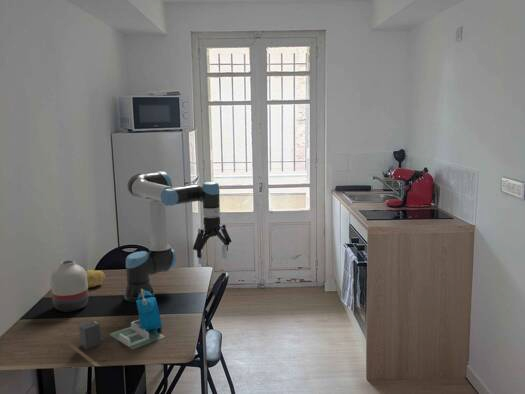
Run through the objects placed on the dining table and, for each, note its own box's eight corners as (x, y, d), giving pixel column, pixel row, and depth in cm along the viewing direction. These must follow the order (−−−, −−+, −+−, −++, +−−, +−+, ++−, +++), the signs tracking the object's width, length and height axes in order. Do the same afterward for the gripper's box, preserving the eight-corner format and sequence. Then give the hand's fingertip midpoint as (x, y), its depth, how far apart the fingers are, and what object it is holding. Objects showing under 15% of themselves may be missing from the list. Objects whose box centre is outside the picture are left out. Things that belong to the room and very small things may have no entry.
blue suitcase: (163, 338, 221) (161, 294, 217) (138, 341, 218) (136, 296, 215) (160, 322, 237) (158, 281, 233) (137, 325, 234) (135, 283, 231)
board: (108, 336, 223) (108, 333, 223) (141, 325, 234) (141, 322, 234) (132, 351, 209) (132, 348, 209) (165, 339, 220) (165, 336, 220)
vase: (65, 300, 267) (61, 256, 262) (95, 301, 263) (92, 257, 259) (46, 312, 250) (41, 266, 246) (77, 315, 247) (74, 267, 243)
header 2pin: (131, 328, 228) (130, 322, 228) (144, 324, 233) (143, 318, 232) (137, 332, 224) (137, 326, 224) (150, 327, 229) (150, 321, 228)
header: (119, 340, 217) (118, 332, 216) (139, 333, 223) (139, 325, 223) (128, 346, 211) (128, 338, 210) (149, 339, 218) (149, 331, 217)
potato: (79, 284, 289) (78, 268, 288) (106, 283, 292) (105, 266, 290) (76, 291, 280) (74, 274, 278) (103, 289, 282) (102, 272, 280)
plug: (81, 348, 213) (79, 324, 211) (96, 342, 218) (94, 319, 216) (86, 352, 210) (84, 328, 208) (102, 346, 214) (100, 323, 212)
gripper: (193, 222, 223) (195, 268, 227) (238, 213, 239) (239, 257, 243) (184, 219, 228) (186, 265, 232) (228, 211, 245) (229, 253, 248)
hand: (213, 261), depth 238 cm, fingers open, 13 cm apart
